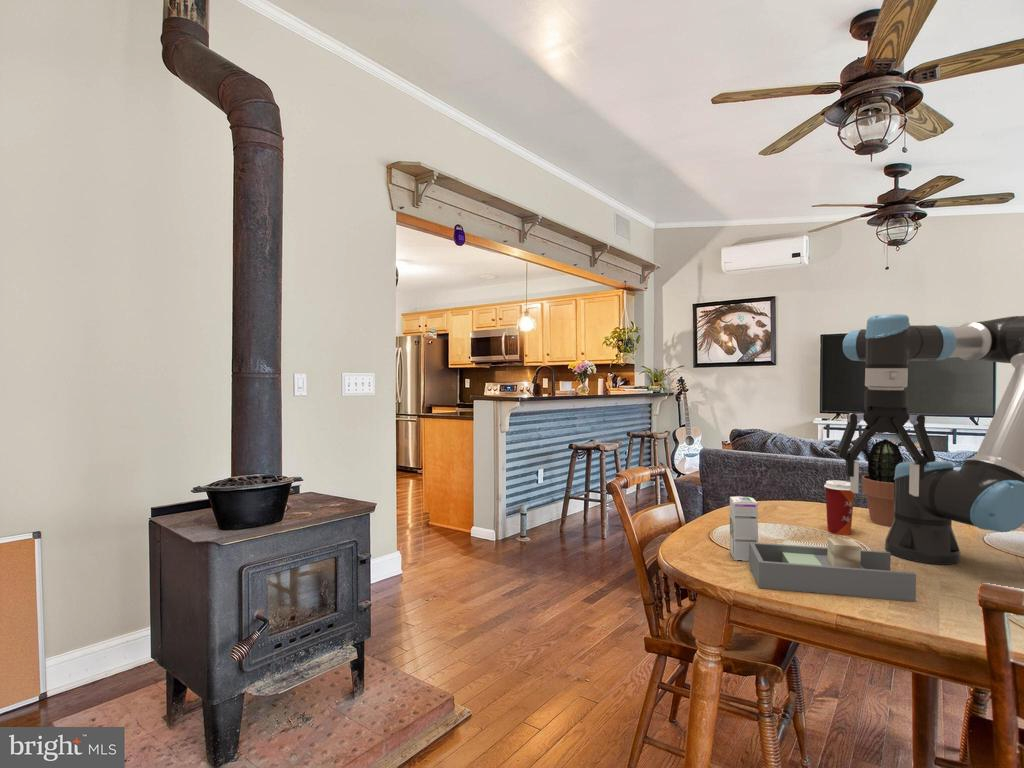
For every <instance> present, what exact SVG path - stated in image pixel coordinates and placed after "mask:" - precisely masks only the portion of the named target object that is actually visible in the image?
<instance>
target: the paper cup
mask: <svg viewBox="0 0 1024 768" xmlns="http://www.w3.org/2000/svg"><path fill="white" fill-rule="evenodd" d="M823 486H824V489H825V505H826V506H825V507H826V523H827V532H828V533H831V534H833V535H837V536H838V535H839V536H848V535H851V532H852V523H853V510H854V499H855V498H854V497H855V493H853V492H852V491H850V481H848V480H847V481H846V480H839V479H837V480H835V479H830V480H826V482H825V484H824V485H823Z"/></svg>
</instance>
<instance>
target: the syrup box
mask: <svg viewBox="0 0 1024 768" xmlns="http://www.w3.org/2000/svg"><path fill="white" fill-rule="evenodd" d="M758 504H759V503H758V502H757V501H756V500H755V498H754V497H752V496H751V497H750V496H742V495H741V496H739V495H738V496H737V495H736V496H729V554H730V555H731V558H732V559H733V561H737V560H742V561H741V562H749V542H753V543H759V525H758V523H759V521H758V519H759V516H758V515H759V514H758V511H759V510H758V509H759V508H758V507H759V506H758Z"/></svg>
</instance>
